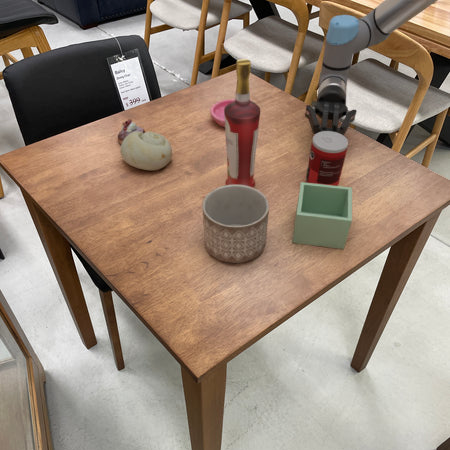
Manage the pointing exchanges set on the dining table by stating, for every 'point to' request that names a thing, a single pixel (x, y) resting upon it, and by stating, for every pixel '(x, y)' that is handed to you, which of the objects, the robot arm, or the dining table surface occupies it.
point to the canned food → (326, 158)
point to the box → (323, 215)
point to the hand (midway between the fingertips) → (327, 147)
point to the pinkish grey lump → (128, 130)
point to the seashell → (146, 150)
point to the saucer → (219, 111)
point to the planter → (235, 222)
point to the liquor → (241, 130)
